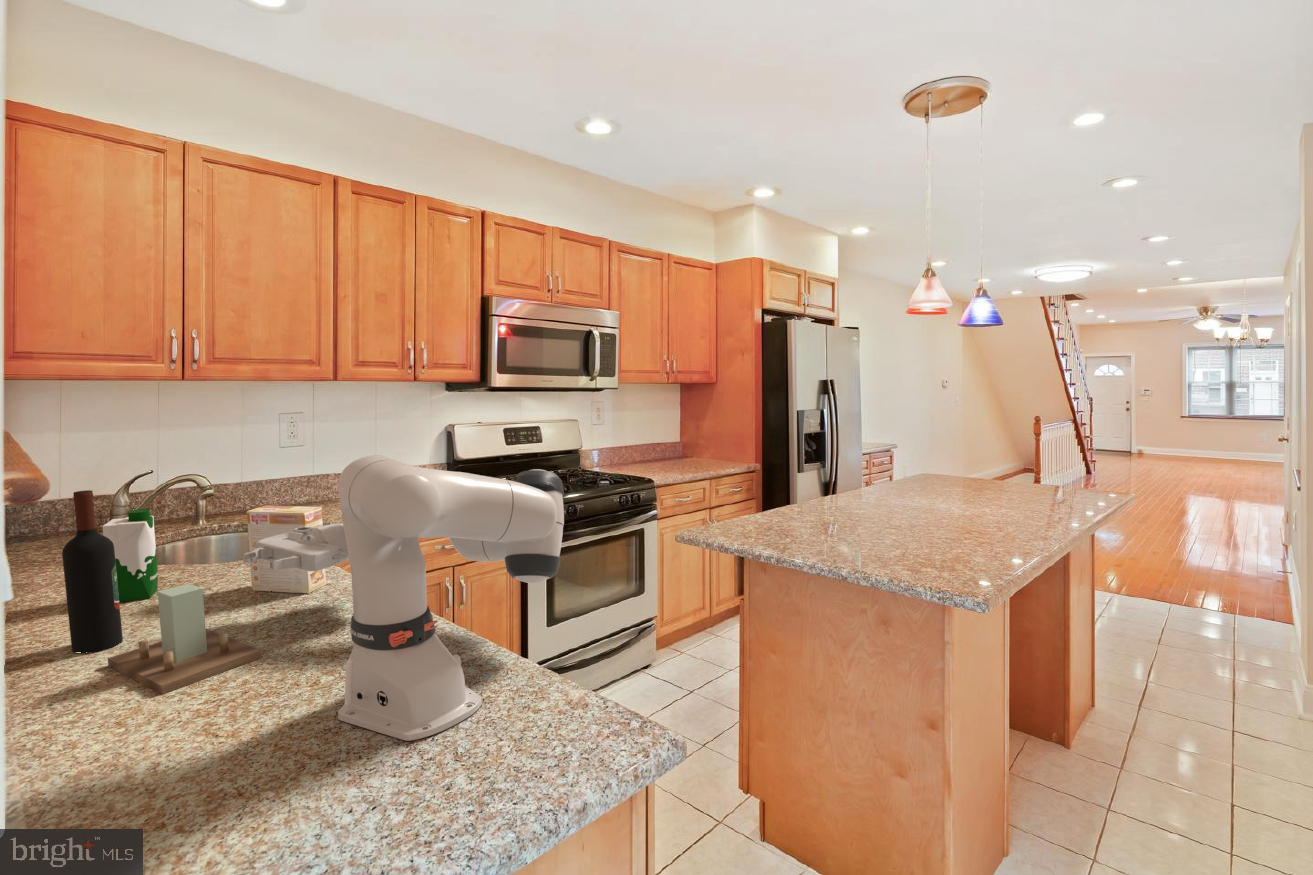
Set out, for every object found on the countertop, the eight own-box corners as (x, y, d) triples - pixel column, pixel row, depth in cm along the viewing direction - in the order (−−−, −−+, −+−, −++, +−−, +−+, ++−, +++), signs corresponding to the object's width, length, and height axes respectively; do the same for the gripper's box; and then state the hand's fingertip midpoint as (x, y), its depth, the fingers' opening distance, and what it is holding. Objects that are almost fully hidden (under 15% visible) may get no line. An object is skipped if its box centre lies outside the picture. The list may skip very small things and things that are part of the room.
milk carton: (154, 599, 155) (146, 513, 153) (104, 605, 151) (96, 517, 149) (163, 587, 163) (156, 506, 161) (116, 593, 159) (108, 509, 157)
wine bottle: (64, 648, 129) (48, 493, 125) (111, 634, 135) (97, 486, 132) (83, 656, 125) (67, 497, 122) (130, 641, 132) (116, 490, 128)
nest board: (261, 657, 125) (259, 634, 124) (162, 694, 111) (160, 668, 111) (205, 635, 135) (203, 613, 134) (108, 666, 121) (106, 642, 121)
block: (207, 651, 124) (202, 588, 122) (176, 662, 119) (171, 596, 118) (193, 645, 126) (188, 583, 125) (163, 655, 122) (157, 591, 121)
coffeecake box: (327, 584, 165) (323, 506, 163) (308, 594, 158) (303, 512, 156) (271, 581, 168) (266, 504, 165) (250, 591, 161) (245, 510, 158)
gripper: (355, 568, 140) (289, 586, 128) (296, 554, 150) (231, 569, 139) (353, 538, 139) (288, 553, 128) (295, 526, 150) (229, 539, 138)
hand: (258, 561), depth 133 cm, fingers open, 8 cm apart
